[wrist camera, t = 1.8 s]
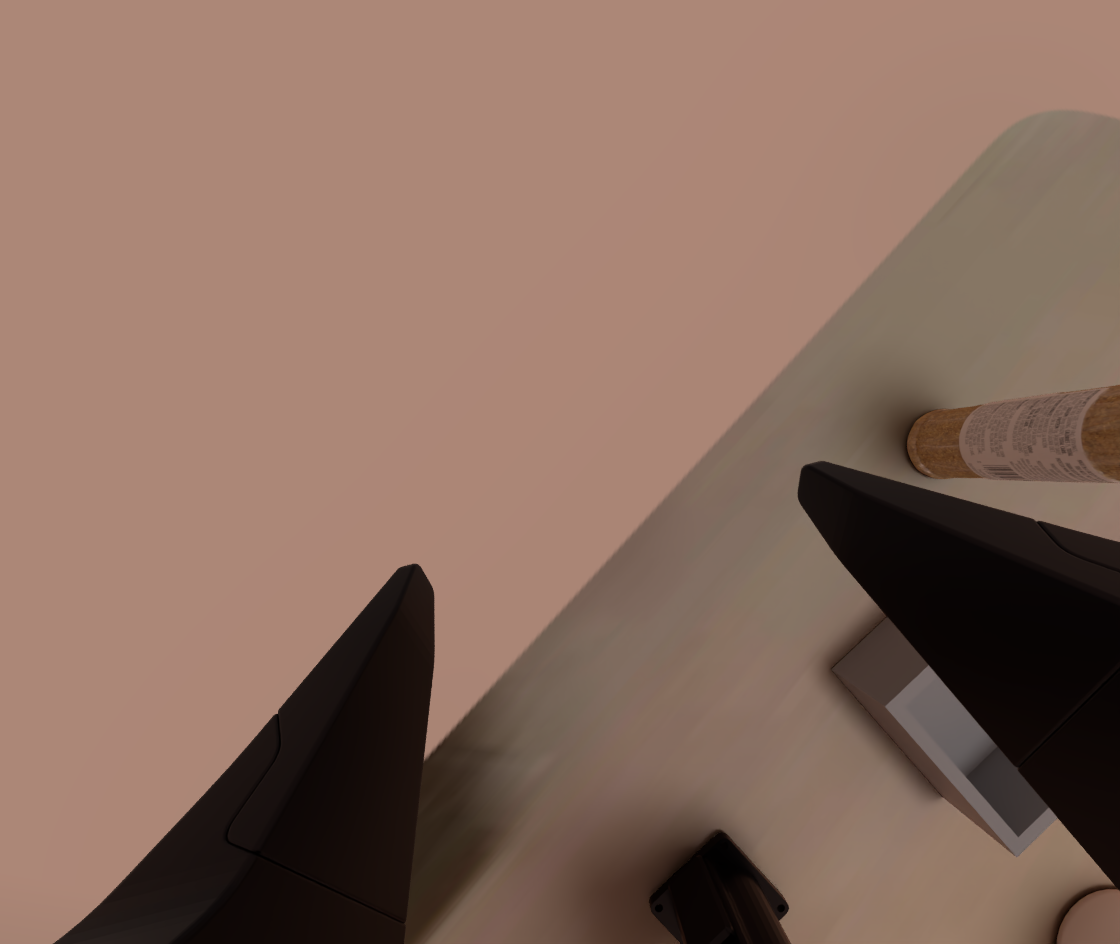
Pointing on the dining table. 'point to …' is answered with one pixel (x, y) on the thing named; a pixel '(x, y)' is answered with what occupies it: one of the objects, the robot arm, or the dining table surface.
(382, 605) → the robot arm
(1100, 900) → the milk bottle
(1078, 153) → the dining table surface
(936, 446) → the sprinkles bottle
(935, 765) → the bin
